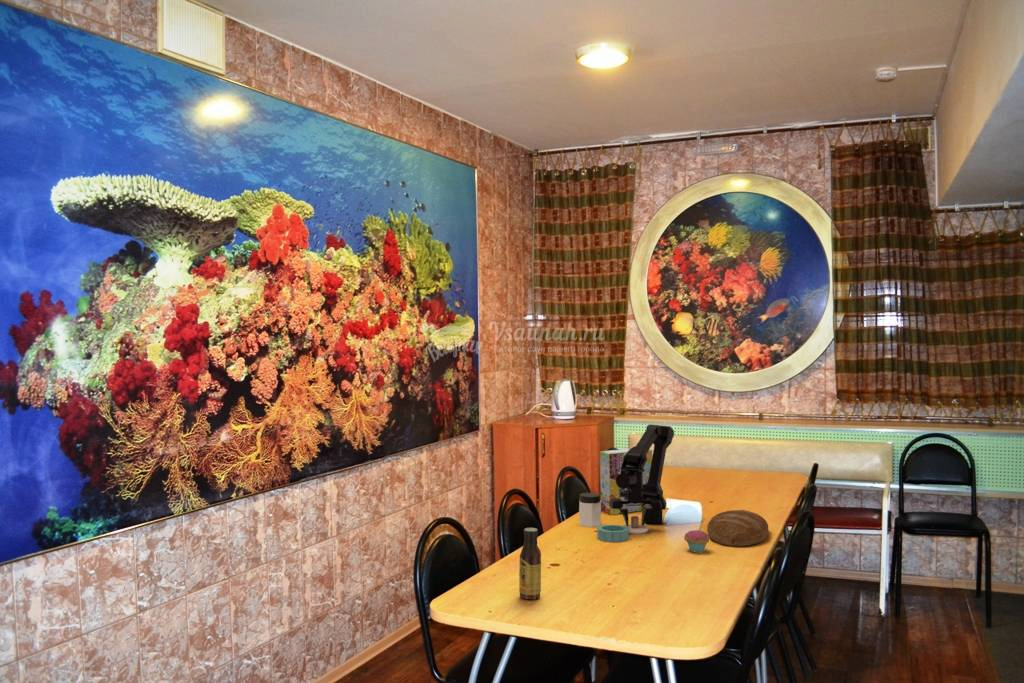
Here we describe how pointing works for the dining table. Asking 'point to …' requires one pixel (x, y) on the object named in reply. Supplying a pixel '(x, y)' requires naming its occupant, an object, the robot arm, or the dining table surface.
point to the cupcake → (697, 539)
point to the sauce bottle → (530, 566)
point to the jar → (590, 510)
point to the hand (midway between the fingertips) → (634, 525)
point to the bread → (737, 528)
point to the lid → (636, 526)
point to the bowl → (612, 533)
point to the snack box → (608, 474)
